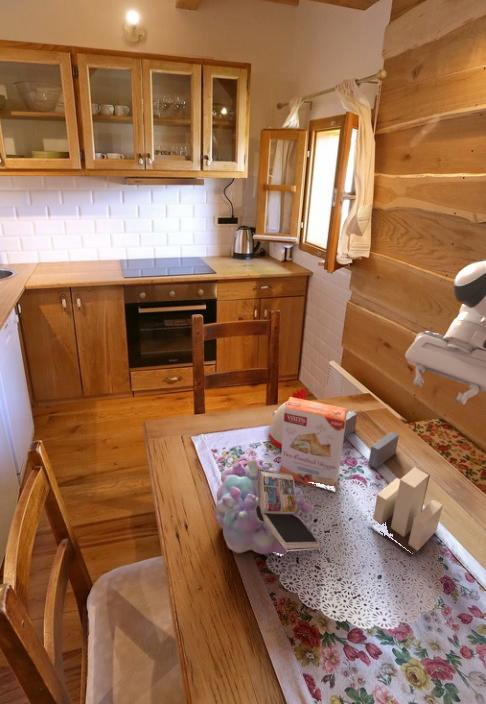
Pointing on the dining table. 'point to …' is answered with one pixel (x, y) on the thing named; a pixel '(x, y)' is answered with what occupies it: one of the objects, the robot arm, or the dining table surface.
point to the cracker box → (312, 441)
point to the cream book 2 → (425, 524)
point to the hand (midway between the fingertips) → (437, 393)
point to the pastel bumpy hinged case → (262, 510)
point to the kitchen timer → (281, 420)
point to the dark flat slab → (399, 538)
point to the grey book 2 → (383, 449)
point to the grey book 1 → (350, 423)
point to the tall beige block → (409, 500)
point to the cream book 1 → (386, 502)
